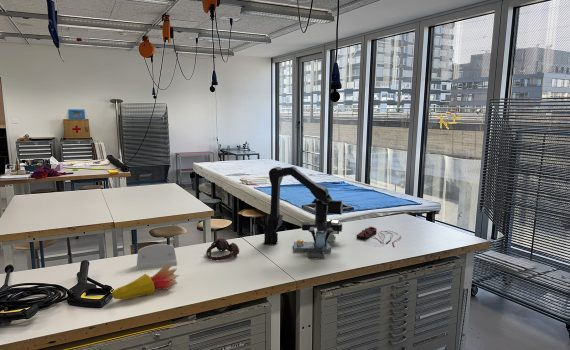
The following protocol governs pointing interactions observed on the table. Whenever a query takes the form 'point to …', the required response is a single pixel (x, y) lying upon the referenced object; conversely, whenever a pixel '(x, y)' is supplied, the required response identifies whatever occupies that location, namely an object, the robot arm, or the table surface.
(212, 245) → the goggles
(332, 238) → the pneumatic valve
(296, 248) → the housing
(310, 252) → the tray
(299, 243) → the plunger
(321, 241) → the cartridge
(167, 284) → the torch
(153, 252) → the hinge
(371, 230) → the multimeter with leads
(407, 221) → the table surface
